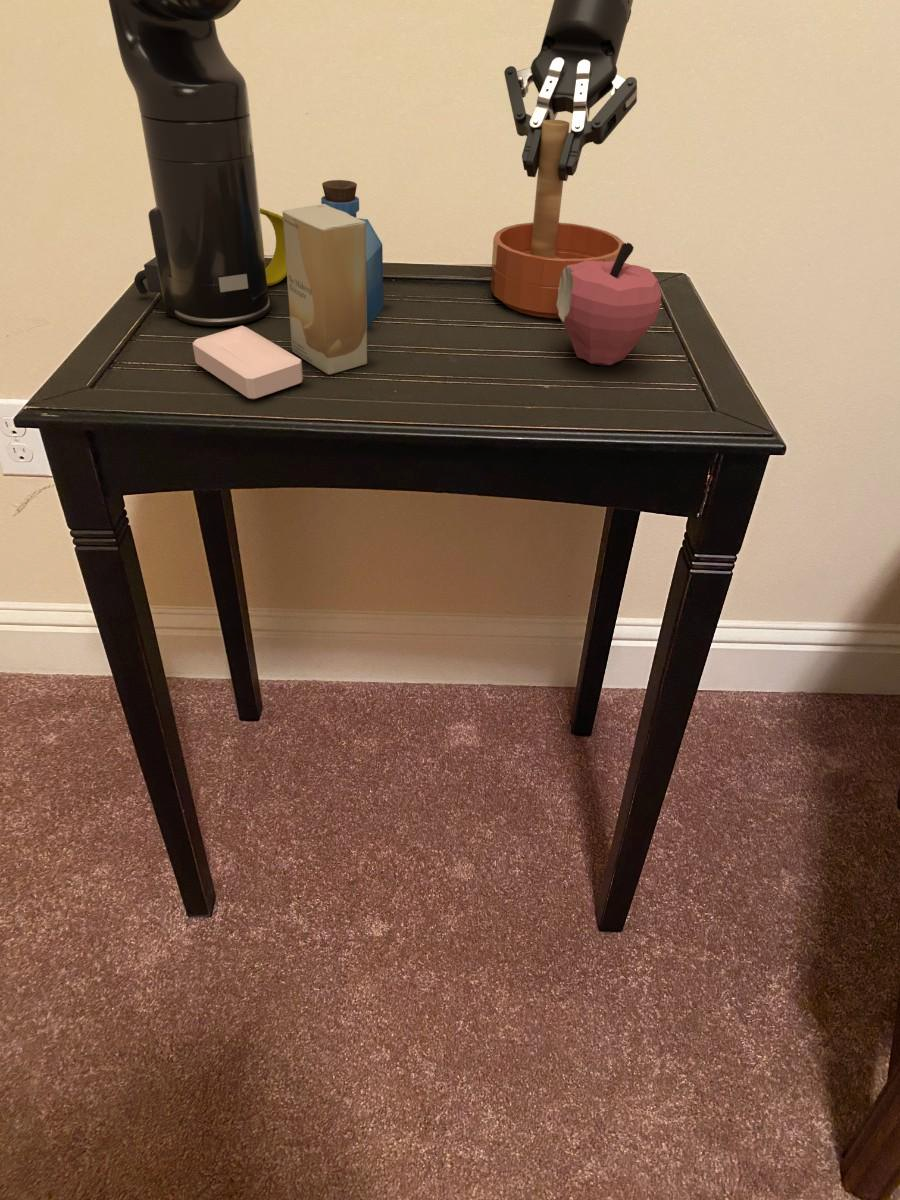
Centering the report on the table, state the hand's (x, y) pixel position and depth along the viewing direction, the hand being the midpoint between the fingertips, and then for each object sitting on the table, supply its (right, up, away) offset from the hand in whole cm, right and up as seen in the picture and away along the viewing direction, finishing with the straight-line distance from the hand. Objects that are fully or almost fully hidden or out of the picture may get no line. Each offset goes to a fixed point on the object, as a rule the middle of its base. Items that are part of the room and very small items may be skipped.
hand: (546, 173), depth 82 cm
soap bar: (-26, -22, -9) cm, 36 cm away
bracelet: (-31, -3, +9) cm, 32 cm away
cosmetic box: (-20, -20, -6) cm, 29 cm away
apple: (+4, -19, -4) cm, 20 cm away
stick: (0, -7, +8) cm, 10 cm away
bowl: (+2, -9, +8) cm, 12 cm away
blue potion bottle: (-20, -13, +3) cm, 24 cm away
